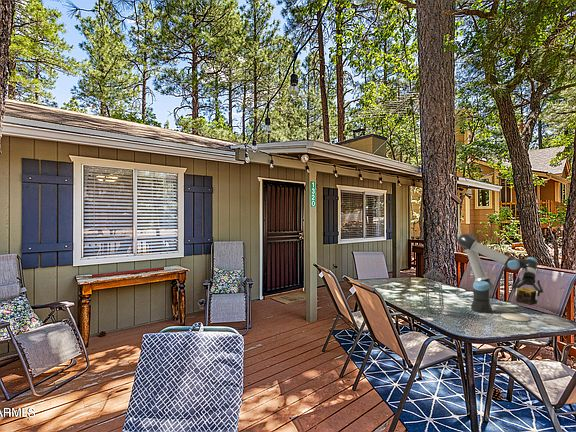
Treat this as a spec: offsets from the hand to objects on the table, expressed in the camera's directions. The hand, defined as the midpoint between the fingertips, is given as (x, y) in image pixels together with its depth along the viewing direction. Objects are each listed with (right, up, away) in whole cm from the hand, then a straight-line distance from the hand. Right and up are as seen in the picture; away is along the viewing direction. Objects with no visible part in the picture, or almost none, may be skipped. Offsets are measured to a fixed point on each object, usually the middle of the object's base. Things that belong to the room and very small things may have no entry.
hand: (525, 297), depth 245 cm
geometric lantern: (-59, -18, +22) cm, 65 cm away
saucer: (-5, -17, +5) cm, 18 cm away
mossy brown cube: (+2, -5, +2) cm, 5 cm away
